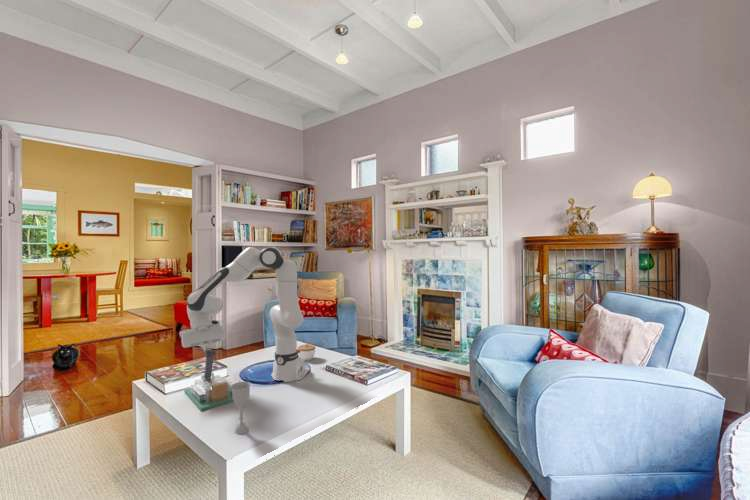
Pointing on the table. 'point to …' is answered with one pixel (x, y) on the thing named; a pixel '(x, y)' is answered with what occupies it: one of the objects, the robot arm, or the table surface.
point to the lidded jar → (307, 352)
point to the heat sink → (207, 387)
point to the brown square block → (219, 391)
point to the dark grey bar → (209, 363)
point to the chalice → (241, 402)
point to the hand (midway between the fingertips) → (207, 350)
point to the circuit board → (207, 405)
